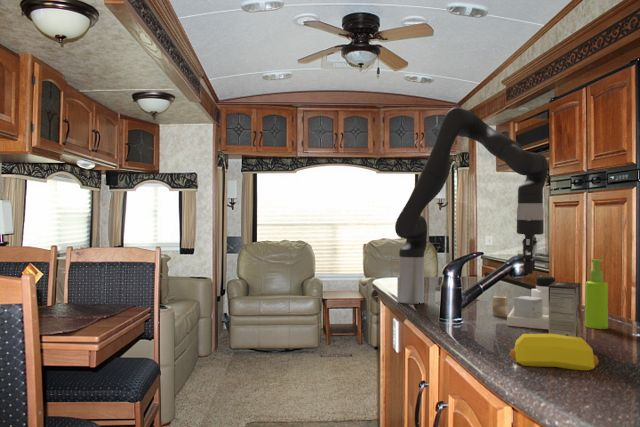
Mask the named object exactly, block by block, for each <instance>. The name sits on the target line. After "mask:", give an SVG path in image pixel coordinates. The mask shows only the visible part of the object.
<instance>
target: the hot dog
mask: <svg viewBox="0 0 640 427" xmlns="http://www.w3.org/2000/svg"><path fill="white" fill-rule="evenodd" d="M509 355H510V359H511V360H513V361H514V362H515V361H516V362H517V363H518V364H519V365H522V366H524V367H545V368H546V367H548V368H549V367H550V368H551V367H552V368H553V367H556V368H560V369H568V370H575V371H583V370H586V371H585V372H587V370H588V371H591V370H593V369H595V367H597V366H598V364H599V359H598V356H597V355H595V354H594V349H593V348H592V347H591V346H590V345H589V343H587V342H586V340H585V339H584V338H583V337H581V338H580V337H573V336H565V335H558V334H549V333H522V334H521V335H520V336H519V337H518V338H517V339H516V341H515V344H514V348H512V349H511V350H510V352H509Z"/></svg>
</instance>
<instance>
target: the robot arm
mask: <svg viewBox="0 0 640 427" xmlns="http://www.w3.org/2000/svg"><path fill="white" fill-rule="evenodd" d="M446 112H447V113H446V114H445V115H444V118H443V120H442V122H441V125H440V128H439V131H438V133H437V137H436V139H435V142H434V144H433V146H432V149H431V151H430V153H429V156H428V158H427V160H426V163H425V164H424V166H423V168H422V170H421V173H420V175H419V176H418V180H417V181H416V183H415V186H414V187H413V190H412V192H411V194H410V196H409V198H408V200H407V202H406V204H405V205H404V207H403V209H402V210H401V212H400V213H399V215H398V217H397V218H396V221H395V226H394V228H395V229H394V230H395V233H396V235H397V236H398V238H401V239H405V244H404V245H403V246H402V247H401V248H400V249H399V255H398V256H399V258H398V259H399V263H398V264H399V266H398V267H399V268H398V269H399V270H398V271H399V272H398V273H399V275H398V276H397V283H396V284H397V295H396V296H397V300H396V301H397V302H396V303H401V304H410V305H417V304H418V305H420V304H424V303H425V251H426V250H427V245H428V244H427V243H428V242H427V240H428V224H427V221H426V218H425V217H424V216H423V215H422V214H423V211H424V210H425V208H426V207H427V206H428V205H429V204H430V202H432V201H433V200H434V199H435V198H436V197H437V196H438V194H440V193H441V191H442V190H443V187H444V186H445V184H446V181H447V180H448V178H449V175H450V172H451V151H452V147H453V145H454V143H455V141H456V139H457V137H462V138H468V139H470V140H473V141H476V142H478V143H480V144H481V145H482V146H483V147H484V148H485V149H486V150H487V151H488V152H489V153H490V154H491V155H493V156H494V157H496V158H497V159H499V160H501V161H502V162H504V163H505V164H506V165H507V166H508V168H510V169H511V171H513V172H515V173H517V175H521V176H525V177H526V178H525V182H524V183H522V184H521V185H519V186H518V187H517V188H518V189H517V208H516V234H518V235H524V238H523V240H522V243H521V244H522V258H523V263H524V265H523V268H524V269H523V270H524V272H523V273H524V274H527V275H528V274H529V275H532V274H533V272H534V271H535V270H536V268H535V267H536V265H535V264H536V256H537V250H538V248H537V247H538V240H537V237H536V236H537V235H539V236H540V235H543V234H544V227H545V226H544V222H545V220H544V219H545V218H544V216H545V215H544V214H545V212H544V200H543V199H544V191H543V190H544V187H545V184H546V180H547V176H548V172H549V163H548V160H547V158H546V156H545V155H544V154H542V153H539V152H538V153H536V152H530V151H526V150H524V149H523V148H522V146H521V144H520V143H519V142H517V141H515V140H513V139H511V138H510V137H508V136H507V135H505V134H503V133H501V132H499V131H497V130H496V129H494V128H492V127H491V126H490V125H488V124H487V123H486V122H484V121H483V120H482V119H481V118H480V116H478V115H477V114H476V113H474V112H473V111H471V110H468V109H464V108H462V107H456V106H455V107H452V108H451V109H449V110H448V111H446ZM419 303H420V304H419Z"/></svg>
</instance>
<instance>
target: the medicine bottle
mask: <svg viewBox="0 0 640 427" xmlns="http://www.w3.org/2000/svg"><path fill="white" fill-rule="evenodd" d="M553 282H556V278H555V277H553V276H551V275H550V276H549V275H539V276H536V278H535V288H531V290H530V291H531V294H530V295H531V296H530V297H538V298H543V308H549V285H550V284H552V283H553Z"/></svg>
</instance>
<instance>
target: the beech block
mask: <svg viewBox="0 0 640 427" xmlns="http://www.w3.org/2000/svg"><path fill="white" fill-rule="evenodd" d="M492 316H494V317H504V318H505V317H506V318H507V316H508V296H505V295H494V296H492Z"/></svg>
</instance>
